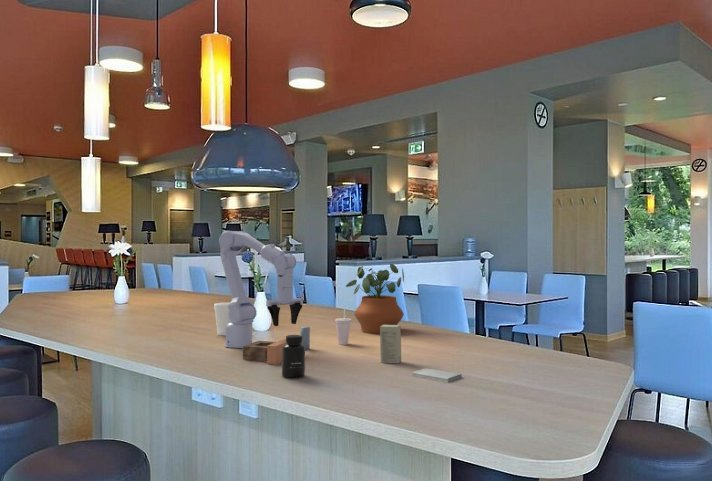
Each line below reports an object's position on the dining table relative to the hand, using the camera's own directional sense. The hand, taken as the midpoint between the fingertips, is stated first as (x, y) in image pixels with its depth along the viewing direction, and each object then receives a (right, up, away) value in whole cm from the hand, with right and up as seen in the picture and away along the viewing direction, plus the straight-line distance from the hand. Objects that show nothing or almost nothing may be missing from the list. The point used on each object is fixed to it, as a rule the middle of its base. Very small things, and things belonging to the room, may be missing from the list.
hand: (284, 324), depth 206 cm
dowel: (+7, -10, +5) cm, 13 cm away
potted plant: (+34, -10, +50) cm, 61 cm away
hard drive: (+50, -11, -36) cm, 63 cm away
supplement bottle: (+7, -10, -37) cm, 39 cm away
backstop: (+1, -10, -13) cm, 16 cm away
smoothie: (+21, -10, +15) cm, 28 cm away
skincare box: (+37, -10, -17) cm, 42 cm away
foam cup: (-30, -10, +37) cm, 49 cm away
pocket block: (-5, -10, -10) cm, 15 cm away
